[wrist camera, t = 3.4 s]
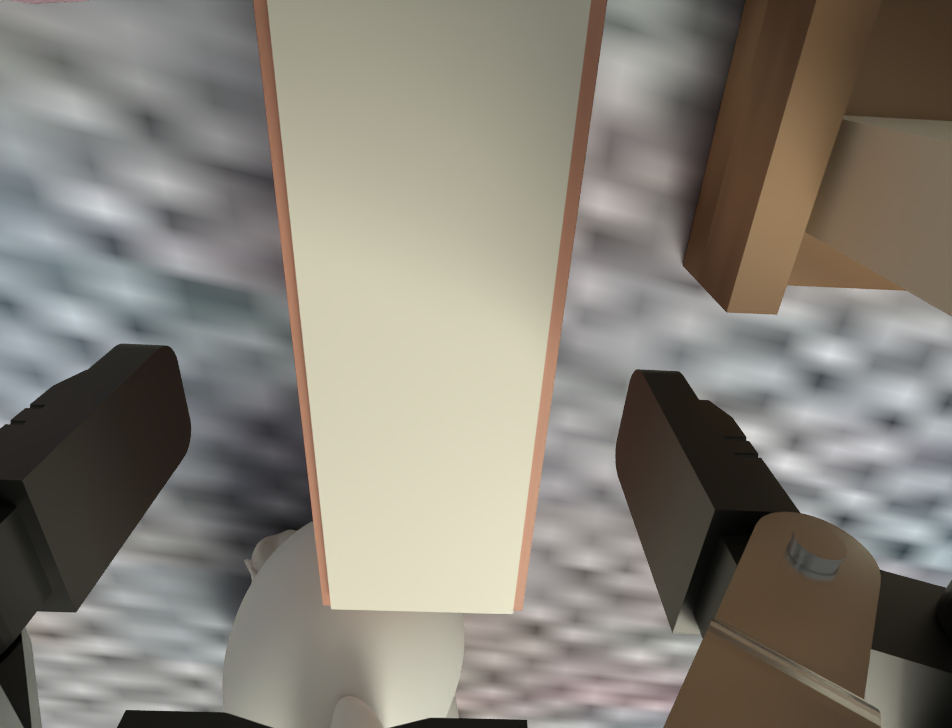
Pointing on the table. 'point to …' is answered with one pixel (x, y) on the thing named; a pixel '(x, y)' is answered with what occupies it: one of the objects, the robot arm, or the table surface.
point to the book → (426, 276)
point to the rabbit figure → (46, 1)
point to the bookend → (891, 202)
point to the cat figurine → (333, 651)
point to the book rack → (805, 135)
